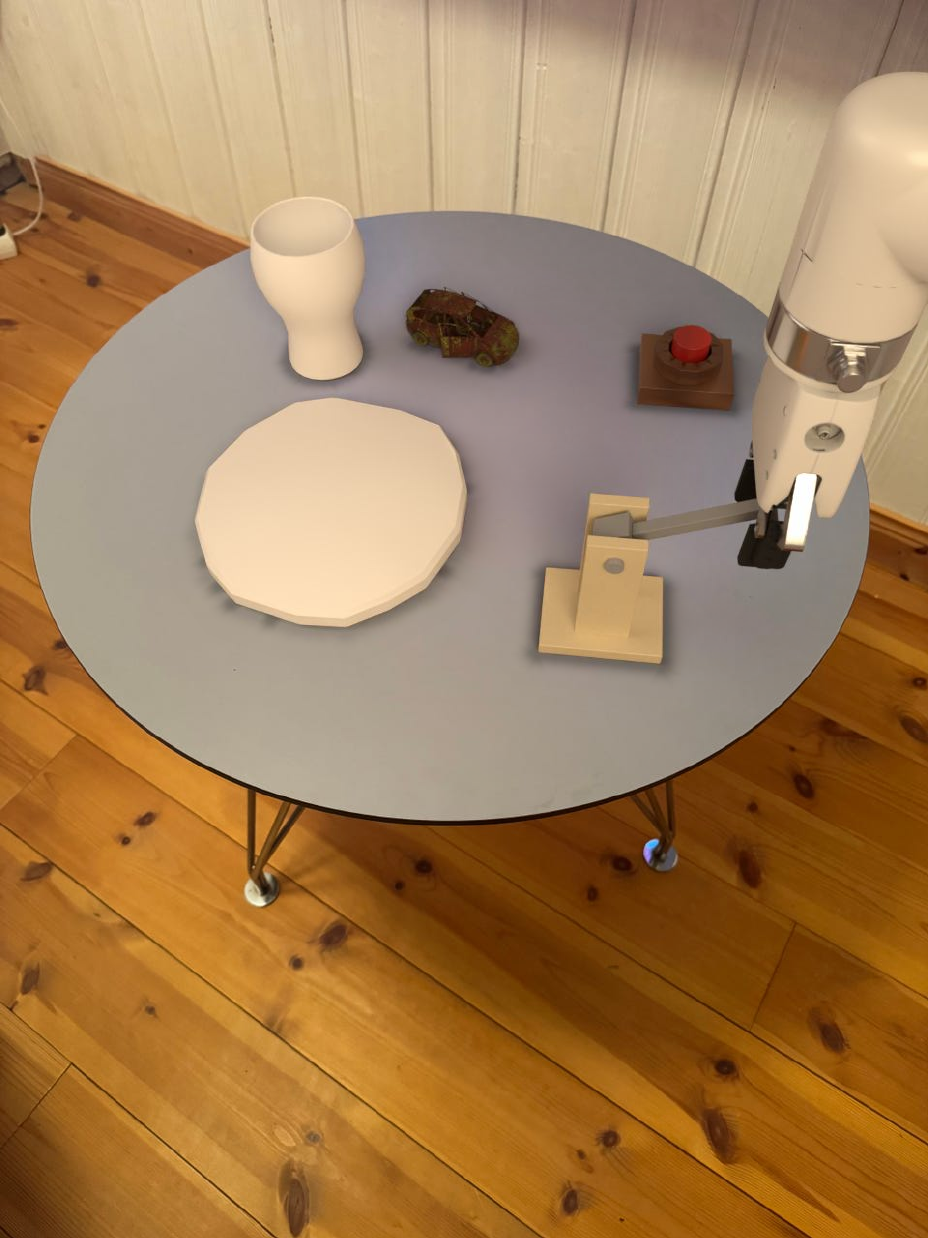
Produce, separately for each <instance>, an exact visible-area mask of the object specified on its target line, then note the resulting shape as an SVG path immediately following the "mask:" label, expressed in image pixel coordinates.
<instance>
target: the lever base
mask: <svg viewBox="0 0 928 1238" xmlns="http://www.w3.org/2000/svg"><path fill="white" fill-rule="evenodd" d="M627 512H630V514H631V516H632V518H633V520H634V522H635V523H638V522H642V521H647V520H648V516H649V512H650V498H649V497H643V496H630V495H619V494H604V493H593V492H590V493H589V500H588V507H587V514H586V521H585V528H584V537H583V544H582V550H581V558H580V564H579V565H580V566H579V569H574V568H573V569H571V568H563V567H562V568H561V567H549V566H547V567H545V573H544V575H545V577H544V585H543V587H544V588H543V598H542V605H541V606H542V607H541V618H540V628H539V637H538V638H539V639H538V649H537V651H538V653H542V654H552V655H561V656H563V655H564V656H573V657H585V658H594V659H607V660H614V661H615V660H616V661H627V662H628V661H629V662H637V663H648V664H657V665H659V664H661V663H662V659H663V653H664V652H663V651H664V649H663V648H664V643H663V642H664V636H663V635H664V630H663V629H664V577H663V576H654V575H644V573H645V568H646V563H647V559H648V555H649V551H650V540H642V539H630V538H618V537H606V536H593V523H594V519H598V518H602V517H607V516H612V515H617V514H622V513H627Z"/></svg>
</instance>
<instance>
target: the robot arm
mask: <svg viewBox="0 0 928 1238" xmlns="http://www.w3.org/2000/svg"><path fill="white" fill-rule="evenodd" d="M927 306H928V72H926V71H897V72H888V73H884V74H881V75H878V76H874V77H872V78H870V79H868V80H865V81H863V82H862V83H860V84H858V85H857V86H855V88H853V89H852V90H850V91H849V92H848V93H847V94H846V96H845V97H844V98H843V99H842V101H841V102H840V103H839V104H838V106H837V107H836V109H835V110H834V112H833V115H832V117H831V120H830V123H829V125H828V128H827V131H826V134H825V137H824V140H823V143H822V147H821V149H820V152H819V156H818V159H817V163H816V166H815V169H814V172H813V175H812V178H811V181H810V185H809V188H808V190H807V194H806V197H805V201H804V203H803V207H802V210H801V213H800V217H799V220H798V223H797V226H796V230H795V232H794V235H793V239H792V243H791V245H790V249H789V252H788V255H787V259H786V261H785V264H784V268H783V269H782V274H781V278H780V281H779V282H778V286H777V290H776V292H775V296H774V299H773V302H772V306H771V309H770V311H769V315H768V319H767V323H766V325H765V329H764V331H763V337H762V341H763V348H764V350H765V354H766V355H767V358H766V360H765V363H764V366H763V369H762V371H761V375H760V377H759V380H758V384H757V387H756V391H755V394H754V398H753V403H752V410H751V436H752V440H751V442H750V445H749V453H748V456H749V458H745V461H744V464H743V466H742V470H741V473H740V475H739V478H738V481H737V484H736V487H735V489H734V494H733V499H734V501H735V502H736V503H737V502H742V501H747V500H752V499H757V502H758V504H759V506H760V508H759V512H758V516H757V519H756V520H755V522H753V523H749V525H748V528H747V530H746V532H745V535H744V539H743V541H742V543H741V546H740V548H739V551H738V554H737V557H736V558H737V565H738V566H739V567H747V568H756V569H760V570H761V569H762V570H781V569H782V570H783V568H785V566H786V564H787V562H788V559H789V557H790V556H791V553H792V552H799V553H803V552H804V550H805V547H806V541H807V536H808V531H809V526H810V525H809V524H810V519H811V513H812V509H813V508H812V507H813V502H814V503H815V509H816V515H817V519H830V518H833V516H834V515H835V514H836V513H837V511H838V510H839V508H840V506H841V504H842V502H843V500H844V497H845V494H846V493H847V490H848V488H849V485H850V483H851V481H852V479H853V476H854V473H855V472H856V469H857V466H858V463H859V461H860V459H861V457H862V454H863V451H864V448H865V446H866V442H867V440H868V437H869V434H870V431H871V428H872V425H873V422H874V418H875V415H876V411H877V407H878V404H879V398H880V395H881V386H882V384H883V383H885V382H886V381H888V379H890V378H891V377H892V376H893V374H894V373H895V372H896V370H897V368H898V366H899V364H900V362H901V360H902V358H903V356H904V354H905V352H906V350H907V348H908V345H909V344H910V341H911V339H912V337H913V335H914V333H915V331H916V329H917V327H918V325H919V322H920V320H921V318H922V316H923V314H924V313H925V311H926V308H927ZM773 508H776V509H778V510H785V511H784V518H783V520H779V521H775V520H770V516H771V512H772V510H773Z"/></svg>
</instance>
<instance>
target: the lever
mask: <svg viewBox="0 0 928 1238" xmlns="http://www.w3.org/2000/svg"><path fill="white" fill-rule="evenodd" d="M759 508H760V506H759V504H758V502H757V499H752V500H747V501H742V502H737V501H736V502H733V503H728V504H723V505H718V506H713V507H707V508H703V509H698V510H692V511H688V512H684V513H677V514H673V515H668V516H662V517H659V518H653V519H647V521H642V522H638V523H635V522H634V520H633V518H632V516H631V514H630V512H627V513H622V514H617V515H612V516H607V517H602V518H598V519H594V523H593V536H606V537H618V538H630V539H642V540H649V541H652V540H656V539H660V538H667V537H672V536H678V535H683V534H687V533H693V532H698V531H703V530H708V529H714V528H719V527H724V526H725V527H726V526H729V525H734V524H740V523H746V522H750V521H756V520H757V516H758V512H759ZM770 520H775V521H780V520H779V509H776V508H773V510H772V512H771V516H770Z"/></svg>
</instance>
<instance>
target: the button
mask: <svg viewBox="0 0 928 1238" xmlns="http://www.w3.org/2000/svg"><path fill="white" fill-rule="evenodd" d="M682 326H683V327H682ZM682 326H681V327H680V326H679V327H680V328H679V329H677V330H676V332H675V333H674V337H673V342H672V347H671V352H672V354H673V356H674V357H675V358H676V359H678V360H681V361H683V362H685V363H698V362H701V361H703V360H704V359H705V358H706V357H707V356H708V352H709V348H710V344H711V335H710V333H709V332H710V331H708V330H707V329H706V328H704V327H702V326H699V325H696V324H695V325H694V324H688V325H687V324H686V325H682Z"/></svg>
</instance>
